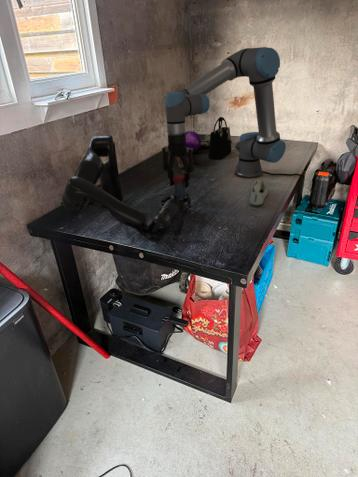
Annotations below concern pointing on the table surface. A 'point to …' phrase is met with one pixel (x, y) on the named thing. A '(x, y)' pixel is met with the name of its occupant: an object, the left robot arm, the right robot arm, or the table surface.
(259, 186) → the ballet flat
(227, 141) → the handbag
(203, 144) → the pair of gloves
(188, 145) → the decorative orb
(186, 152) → the boot
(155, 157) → the table surface
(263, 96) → the right robot arm
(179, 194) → the jar
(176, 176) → the lid
